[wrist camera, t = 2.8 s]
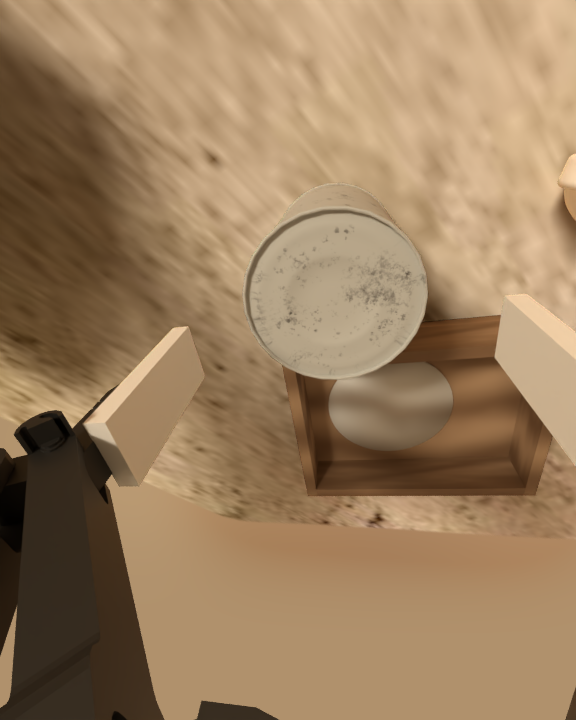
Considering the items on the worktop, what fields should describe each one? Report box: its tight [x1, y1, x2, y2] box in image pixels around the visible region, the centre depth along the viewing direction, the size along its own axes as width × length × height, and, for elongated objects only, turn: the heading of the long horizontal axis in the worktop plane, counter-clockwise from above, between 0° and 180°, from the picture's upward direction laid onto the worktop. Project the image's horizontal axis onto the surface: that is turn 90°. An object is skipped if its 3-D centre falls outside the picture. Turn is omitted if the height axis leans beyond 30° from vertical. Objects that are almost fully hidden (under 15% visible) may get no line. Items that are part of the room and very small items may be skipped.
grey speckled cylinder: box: [243, 183, 428, 380], centre depth 23 cm, size 10×10×12 cm
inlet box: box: [282, 315, 553, 496], centre depth 33 cm, size 17×22×5 cm
